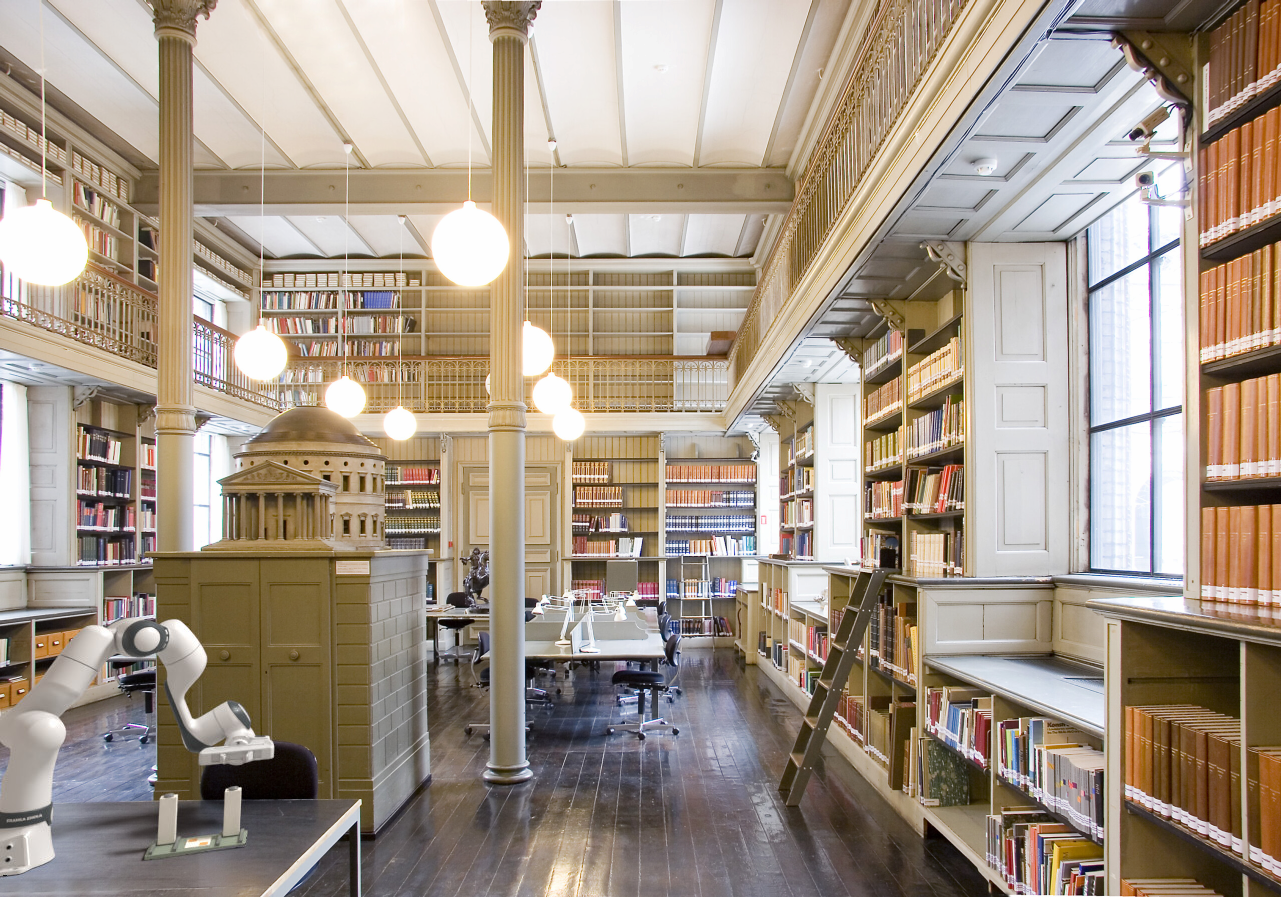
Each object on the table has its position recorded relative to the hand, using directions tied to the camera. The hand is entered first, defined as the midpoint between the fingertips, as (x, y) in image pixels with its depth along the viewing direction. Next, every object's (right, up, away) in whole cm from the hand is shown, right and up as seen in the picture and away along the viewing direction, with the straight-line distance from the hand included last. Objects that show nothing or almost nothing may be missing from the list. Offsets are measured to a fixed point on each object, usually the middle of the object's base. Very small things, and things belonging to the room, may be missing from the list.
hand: (235, 760), depth 243 cm
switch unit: (-4, -19, -13) cm, 23 cm away
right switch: (+2, -18, -8) cm, 20 cm away
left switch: (-12, -17, -14) cm, 25 cm away
